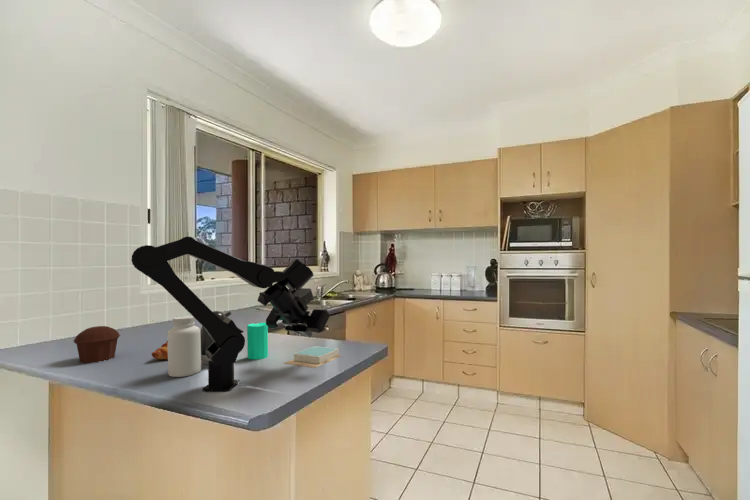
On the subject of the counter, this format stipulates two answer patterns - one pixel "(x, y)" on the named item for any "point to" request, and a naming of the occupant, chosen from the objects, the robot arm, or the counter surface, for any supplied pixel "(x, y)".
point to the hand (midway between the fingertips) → (310, 335)
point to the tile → (316, 354)
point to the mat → (307, 364)
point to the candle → (257, 340)
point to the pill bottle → (184, 347)
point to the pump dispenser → (206, 339)
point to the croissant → (161, 352)
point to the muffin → (96, 344)
